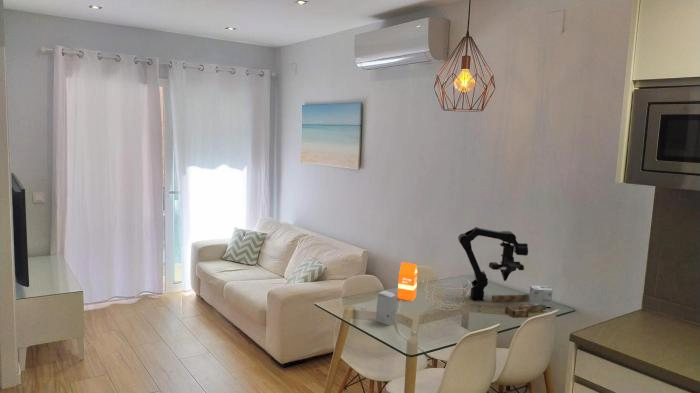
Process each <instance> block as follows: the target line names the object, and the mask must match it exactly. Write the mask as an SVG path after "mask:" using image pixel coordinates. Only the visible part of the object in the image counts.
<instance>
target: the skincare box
mask: <svg viewBox="0 0 700 393" xmlns="http://www.w3.org/2000/svg"><path fill="white" fill-rule="evenodd" d="M377 295H378V296H377V302H376V312H375V322H377V323H381V324H384V325H386V326H390V325H393V324H395V323H396V314H397V307H398V306H397V305H398V304H397V303H398V294H397V293H393V292H390V291H388V290H386V289H385V290H381V291H380V292H378V293H377Z"/></svg>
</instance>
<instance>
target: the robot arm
mask: <svg viewBox="0 0 700 393" xmlns="http://www.w3.org/2000/svg"><path fill="white" fill-rule="evenodd" d="M479 236H480V237H486V238H492V239H496V240H501V241H502V242H501V243H499V245H500V247H502V254H501V261H500V264H499V263H498V262H495V261H493V262H492V261H491V262H489V263H488V268H490V269H491V270H493V271H495V270H496V271H497V270H498V271H499V270H500V273H501V276H502V279H503V281H504V282H506V281H507V280H508V278H509V276H510V275H511V273H513V272H515V271H517V270H518V271H525V266H524V264H523V263H521V262H520V261H515V257H514V254H515V255H517V256H523V257H524V256H528V254H529V247H528V243H526V242H525V243H524V242H523V243H520V242H519V241H517V236H516V235H515V234H514V233H513V232H512V231H509V230H507V231H506V230H505V231H504V230H503V231H497V230H491V229H486V228H480V227H477V226H475V227H474V228H471V230H468V231H466V232H464V233H460V234H459V235H458V237H457V239H458V241H459V244H460V245H461V247H462V248H463V250H464V252H465V253H466V256H467V258H468V261H469V263H470V265H471V268H472V270H473V274H474V279H473V280H472V281H471V283H470V284H471V286H472V287H470V295H469V296H470V297H471V298H472V299H473V300H474V301H477V302H478V301H479V302H480V301H485V299H484V297H485V291H484V289H485V288H486V287H487V286H488V283H489V279H488V276H487V274H486V272H485V271H484V270H481V268H480V265H479V264H478V260H477V258H476V256H475V254H474V251H473V249H472V241H474V240H475V239H476V238H477V237H479ZM470 297H469V298H470ZM471 298H470V299H471ZM472 299H471V300H472ZM473 300H472V301H473Z"/></svg>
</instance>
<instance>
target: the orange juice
mask: <svg viewBox="0 0 700 393" xmlns="http://www.w3.org/2000/svg"><path fill="white" fill-rule="evenodd" d="M418 272H419V271H418V264H415V263H410V262H409V263H408V262H405V261H404V262H402V261H401V265H400V268H399V273H398V286H397V295H398V297H397V299H400V300H405V301H412V302H414V300H415V298H416V297H417V288H418V286H417V285H418Z"/></svg>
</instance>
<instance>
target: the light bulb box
mask: <svg viewBox="0 0 700 393" xmlns="http://www.w3.org/2000/svg"><path fill="white" fill-rule="evenodd" d="M528 294H529V301H528V305H534V304H543V303H544V304H546V307H551V308H552V300H553V289H552V288H551V287H550V286H549V285H530V286H529V293H528Z"/></svg>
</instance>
